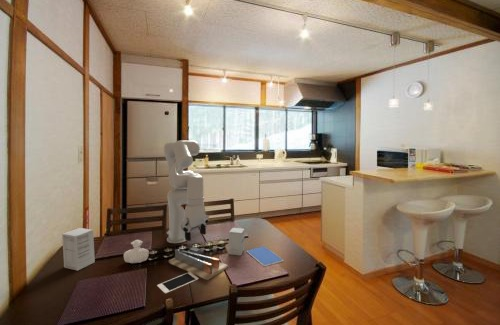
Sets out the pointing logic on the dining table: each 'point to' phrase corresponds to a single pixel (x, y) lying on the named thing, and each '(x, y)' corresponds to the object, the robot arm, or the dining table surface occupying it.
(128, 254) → the white rounded piece
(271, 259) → the tablet computer
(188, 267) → the rest board
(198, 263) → the tongs fixed arm
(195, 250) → the lock slider
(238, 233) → the supplement box
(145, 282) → the dining table surface
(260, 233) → the dining table surface
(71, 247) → the supplement box
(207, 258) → the tongs hinged arm
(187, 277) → the cell phone
